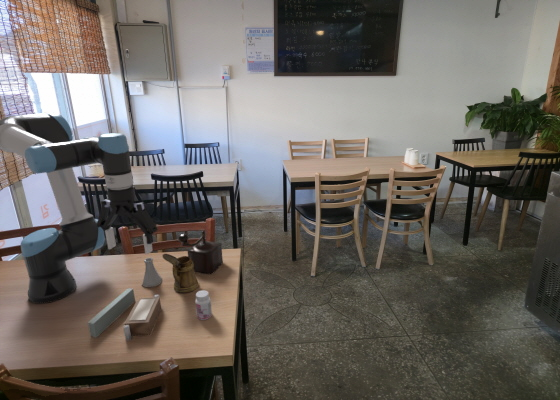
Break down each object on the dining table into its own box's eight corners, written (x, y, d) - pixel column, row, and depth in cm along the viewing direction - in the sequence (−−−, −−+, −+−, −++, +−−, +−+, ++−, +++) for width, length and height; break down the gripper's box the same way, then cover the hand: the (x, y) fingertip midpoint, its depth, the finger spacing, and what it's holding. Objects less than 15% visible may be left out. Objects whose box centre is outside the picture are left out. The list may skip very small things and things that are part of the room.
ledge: (91, 336, 106) (87, 322, 105) (130, 300, 124) (128, 288, 122) (127, 342, 103) (125, 328, 102) (162, 304, 121) (160, 292, 119)
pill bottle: (195, 320, 112) (192, 297, 110) (199, 311, 117) (196, 289, 114) (209, 320, 112) (207, 298, 109) (213, 311, 117) (211, 289, 114)
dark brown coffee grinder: (200, 259, 152) (196, 220, 146) (223, 262, 148) (220, 223, 143) (180, 277, 138) (175, 235, 132) (205, 281, 134) (201, 238, 129)
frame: (127, 337, 106) (124, 323, 104) (140, 311, 118) (138, 297, 117) (150, 336, 106) (148, 321, 105) (161, 309, 119) (159, 296, 117)
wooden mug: (160, 297, 125) (154, 252, 119) (183, 278, 137) (178, 236, 131) (182, 302, 122) (175, 255, 116) (203, 282, 134) (198, 239, 128)
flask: (165, 278, 138) (161, 255, 134) (157, 288, 131) (153, 264, 128) (147, 277, 138) (143, 254, 135) (138, 287, 132) (134, 264, 128)
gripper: (75, 186, 104) (88, 250, 111) (149, 193, 98) (158, 260, 105) (94, 179, 111) (105, 240, 118) (164, 185, 105) (171, 249, 112)
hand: (130, 249), depth 112 cm, fingers open, 13 cm apart
